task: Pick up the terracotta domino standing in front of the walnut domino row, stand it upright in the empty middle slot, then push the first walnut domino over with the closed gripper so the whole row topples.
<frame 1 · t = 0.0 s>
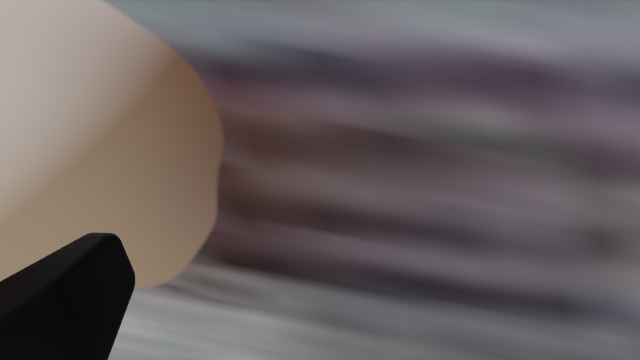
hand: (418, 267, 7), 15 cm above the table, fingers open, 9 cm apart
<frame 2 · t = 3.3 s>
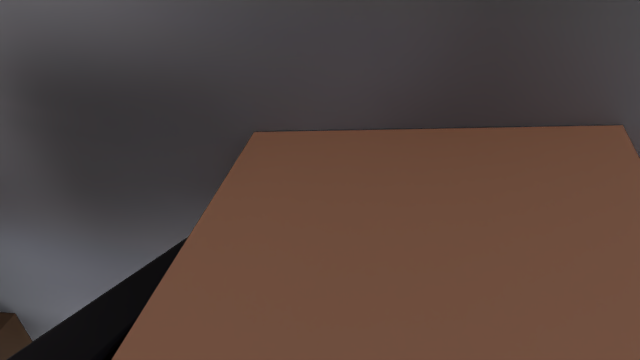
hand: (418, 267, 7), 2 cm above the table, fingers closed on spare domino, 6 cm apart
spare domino: (425, 182, 9), on the table, touching gripper
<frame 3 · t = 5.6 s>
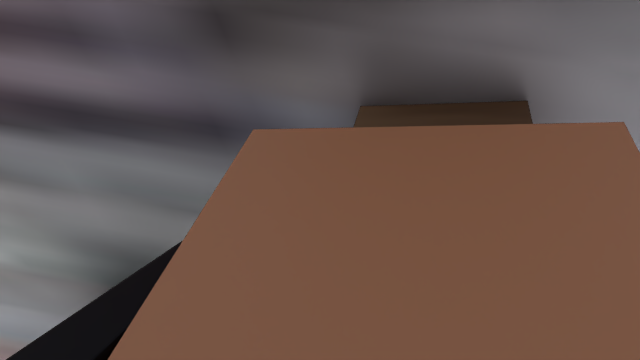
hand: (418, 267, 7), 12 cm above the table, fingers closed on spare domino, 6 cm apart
domino 2: (441, 129, 19), on the table
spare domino: (425, 180, 9), point 10 cm above the table, touching gripper
when the fingers open (3 cm above the table, at t = 8.1 s): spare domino drops 1 cm, on the table.
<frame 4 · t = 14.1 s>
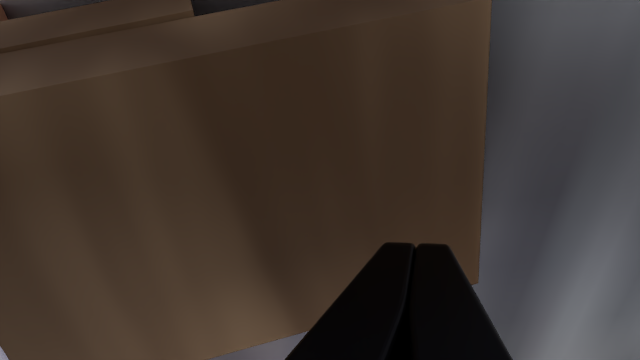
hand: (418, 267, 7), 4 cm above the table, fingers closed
domino 1: (457, 137, 10), point 1 cm above the table, tilted 64°
domino 2: (224, 135, 11), point 1 cm above the table, tilted 64°, touching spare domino
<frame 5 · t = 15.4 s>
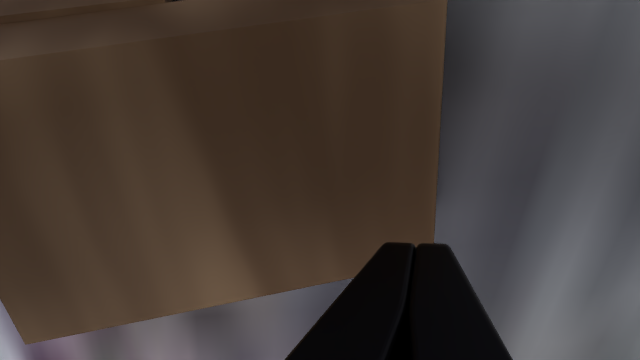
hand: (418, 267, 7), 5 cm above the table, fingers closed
domino 1: (419, 126, 11), point 1 cm above the table, tilted 66°, touching domino 2
domino 2: (192, 113, 12), point 1 cm above the table, tilted 66°, touching domino 1, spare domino
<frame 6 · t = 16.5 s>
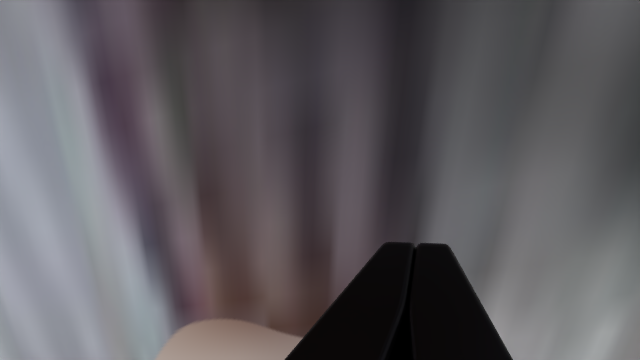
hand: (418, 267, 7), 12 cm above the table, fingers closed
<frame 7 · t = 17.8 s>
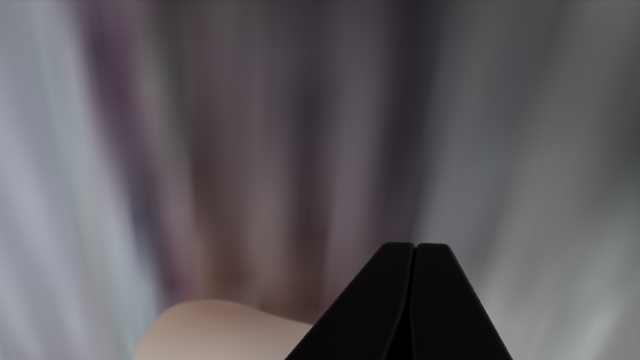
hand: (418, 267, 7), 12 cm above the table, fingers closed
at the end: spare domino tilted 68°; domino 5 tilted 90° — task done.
